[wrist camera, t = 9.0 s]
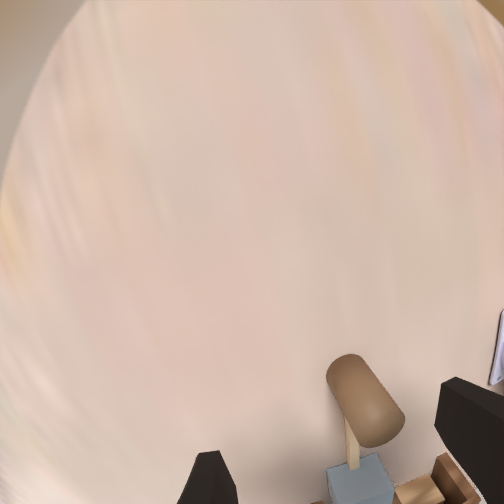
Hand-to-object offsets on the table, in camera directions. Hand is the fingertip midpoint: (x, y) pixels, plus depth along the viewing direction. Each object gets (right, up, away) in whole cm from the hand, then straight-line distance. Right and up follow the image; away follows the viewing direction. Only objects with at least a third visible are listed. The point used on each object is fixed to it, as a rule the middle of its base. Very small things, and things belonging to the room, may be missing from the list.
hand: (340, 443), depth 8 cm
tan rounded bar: (+5, -9, +13) cm, 16 cm away
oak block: (+14, -20, +17) cm, 30 cm away
